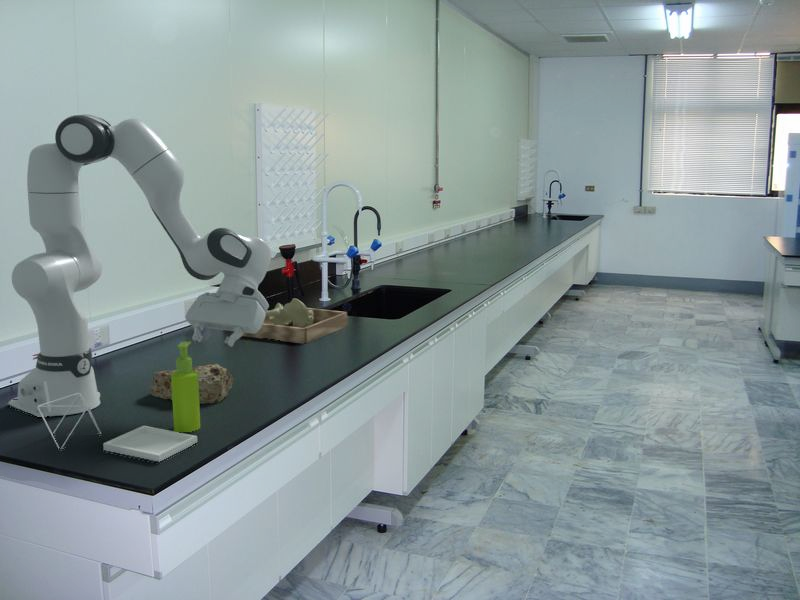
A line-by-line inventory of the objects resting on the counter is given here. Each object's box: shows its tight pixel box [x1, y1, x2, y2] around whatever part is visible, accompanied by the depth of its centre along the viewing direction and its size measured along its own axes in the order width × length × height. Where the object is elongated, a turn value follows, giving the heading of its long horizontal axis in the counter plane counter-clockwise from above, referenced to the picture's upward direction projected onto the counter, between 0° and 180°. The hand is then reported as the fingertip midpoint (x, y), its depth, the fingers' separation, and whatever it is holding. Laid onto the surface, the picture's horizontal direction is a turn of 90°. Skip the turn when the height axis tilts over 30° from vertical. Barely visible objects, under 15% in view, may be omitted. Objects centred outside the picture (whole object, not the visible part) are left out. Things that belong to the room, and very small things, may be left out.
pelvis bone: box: [265, 298, 314, 328], centre depth 272 cm, size 20×14×15 cm
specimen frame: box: [241, 307, 348, 345], centre depth 272 cm, size 26×30×5 cm
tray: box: [103, 425, 198, 462], centre depth 164 cm, size 15×12×2 cm
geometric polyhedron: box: [37, 393, 102, 450], centre depth 168 cm, size 12×11×9 cm
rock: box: [149, 363, 235, 405], centre depth 199 cm, size 21×14×10 cm
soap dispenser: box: [171, 341, 201, 433], centre depth 174 cm, size 6×7×20 cm
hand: (211, 342), depth 182 cm, fingers open, 8 cm apart
